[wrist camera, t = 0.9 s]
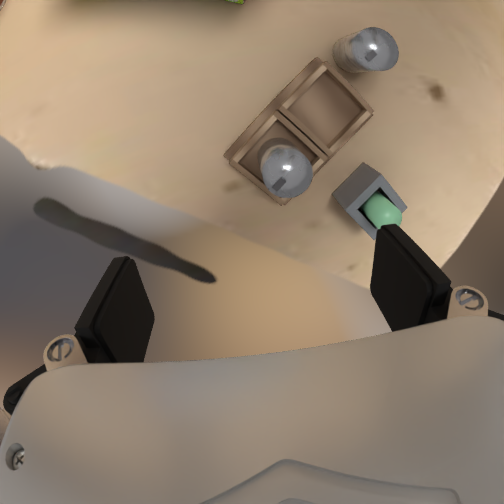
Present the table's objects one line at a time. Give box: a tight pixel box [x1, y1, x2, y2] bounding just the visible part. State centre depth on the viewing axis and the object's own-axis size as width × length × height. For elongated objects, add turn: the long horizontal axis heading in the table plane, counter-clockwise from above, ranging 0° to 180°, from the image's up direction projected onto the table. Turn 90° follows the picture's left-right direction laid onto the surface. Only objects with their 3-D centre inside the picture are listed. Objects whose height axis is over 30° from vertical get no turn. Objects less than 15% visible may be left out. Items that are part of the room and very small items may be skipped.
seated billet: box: [258, 137, 313, 198], centre depth 28 cm, size 4×4×7 cm
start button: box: [359, 190, 402, 229], centre depth 31 cm, size 3×3×6 cm
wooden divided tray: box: [224, 57, 374, 206], centre depth 30 cm, size 15×9×2 cm, turn 139°
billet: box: [333, 27, 399, 73], centre depth 23 cm, size 4×4×7 cm
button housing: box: [332, 162, 407, 240], centre depth 33 cm, size 6×6×5 cm
